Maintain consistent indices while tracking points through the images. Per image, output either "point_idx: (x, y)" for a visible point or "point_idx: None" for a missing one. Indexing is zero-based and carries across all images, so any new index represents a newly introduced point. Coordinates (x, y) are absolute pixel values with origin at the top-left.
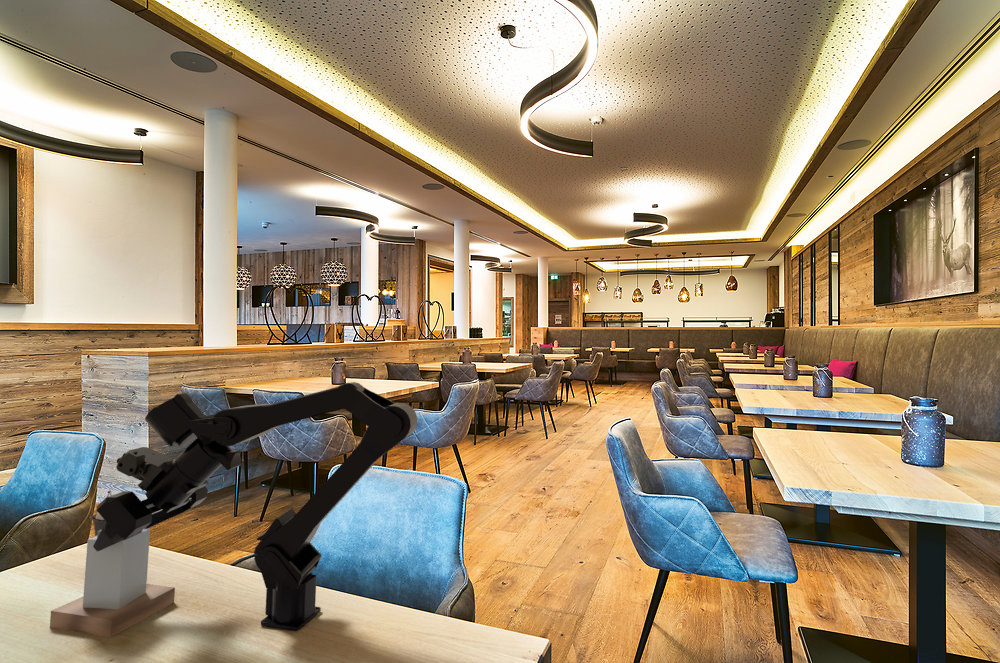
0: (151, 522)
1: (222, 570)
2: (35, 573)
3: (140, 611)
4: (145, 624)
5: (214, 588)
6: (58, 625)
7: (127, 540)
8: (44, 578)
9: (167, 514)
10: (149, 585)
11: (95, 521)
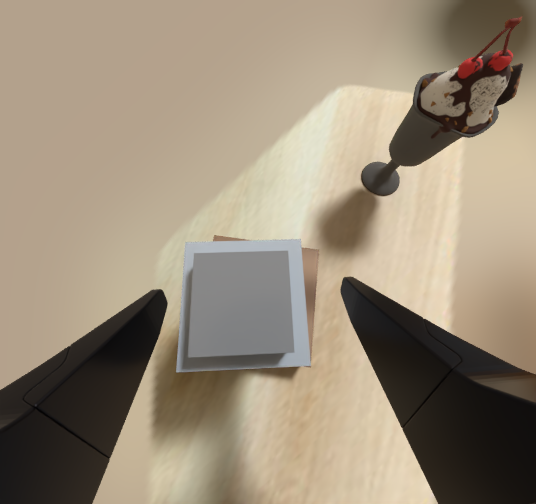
0: (361, 327)
1: None
2: (345, 111)
3: None
4: None
5: (363, 394)
6: None
7: (198, 369)
8: (336, 130)
9: (403, 406)
10: (309, 313)
11: (416, 98)
